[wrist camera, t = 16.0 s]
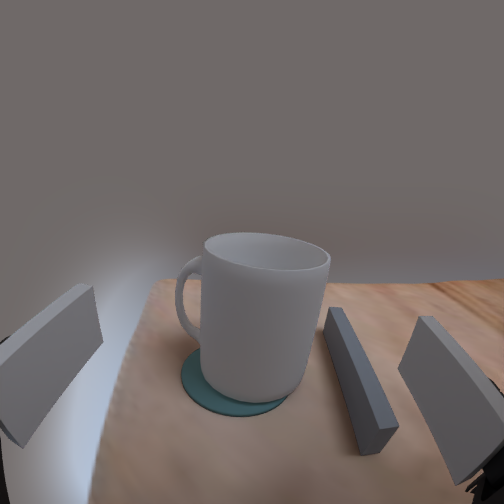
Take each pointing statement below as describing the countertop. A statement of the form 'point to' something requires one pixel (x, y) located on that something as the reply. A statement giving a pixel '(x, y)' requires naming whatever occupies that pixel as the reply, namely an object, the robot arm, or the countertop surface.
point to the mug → (255, 312)
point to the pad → (218, 393)
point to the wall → (359, 385)
